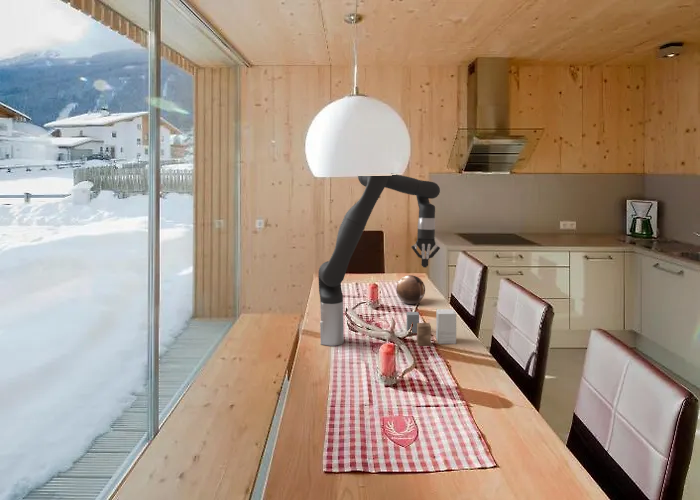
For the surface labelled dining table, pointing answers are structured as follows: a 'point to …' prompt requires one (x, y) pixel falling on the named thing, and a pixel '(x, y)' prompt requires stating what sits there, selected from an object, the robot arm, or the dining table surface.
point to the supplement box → (446, 326)
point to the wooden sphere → (410, 289)
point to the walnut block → (423, 334)
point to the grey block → (412, 318)
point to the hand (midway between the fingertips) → (424, 267)
